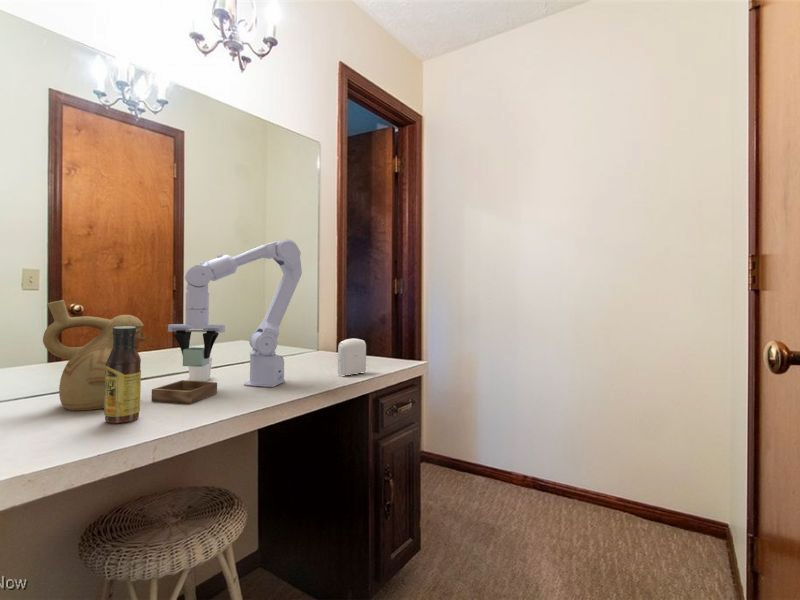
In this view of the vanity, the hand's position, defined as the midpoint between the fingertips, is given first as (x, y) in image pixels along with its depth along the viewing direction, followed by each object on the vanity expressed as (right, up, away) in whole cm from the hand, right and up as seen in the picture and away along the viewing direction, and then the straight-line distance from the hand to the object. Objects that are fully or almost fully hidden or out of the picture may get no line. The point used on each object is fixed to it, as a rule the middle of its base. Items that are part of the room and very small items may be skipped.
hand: (196, 357), depth 110 cm
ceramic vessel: (-16, -9, -15) cm, 24 cm away
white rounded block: (-6, -9, +13) cm, 17 cm away
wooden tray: (+1, -9, -8) cm, 12 cm away
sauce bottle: (-2, -10, -26) cm, 28 cm away
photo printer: (+40, -10, +25) cm, 48 cm away
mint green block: (0, -2, 0) cm, 2 cm away
